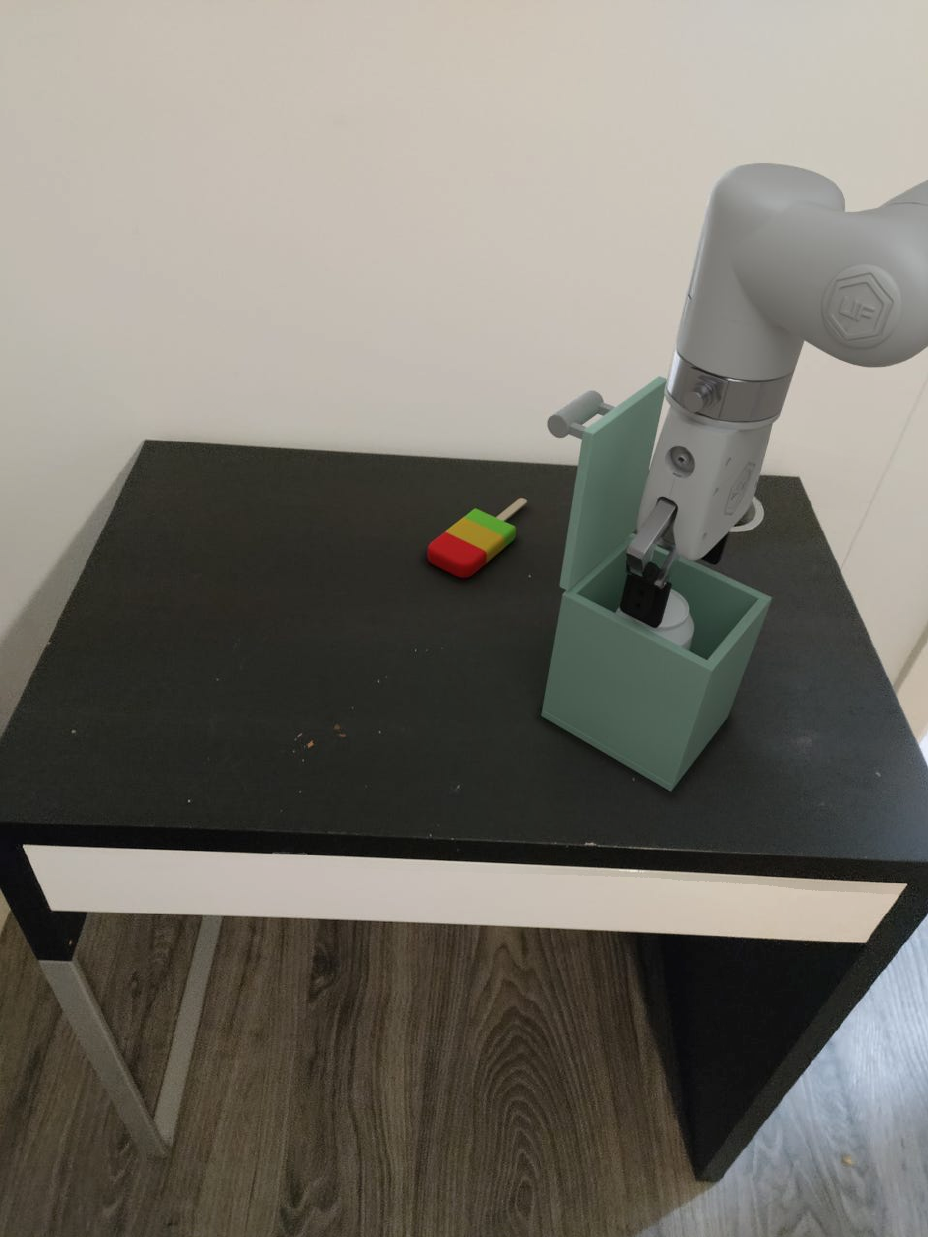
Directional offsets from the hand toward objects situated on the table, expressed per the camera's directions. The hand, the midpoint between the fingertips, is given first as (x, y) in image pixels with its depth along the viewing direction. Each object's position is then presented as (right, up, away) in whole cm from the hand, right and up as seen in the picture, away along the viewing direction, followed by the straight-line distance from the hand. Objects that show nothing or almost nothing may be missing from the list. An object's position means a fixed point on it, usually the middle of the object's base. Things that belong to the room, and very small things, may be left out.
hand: (671, 585), depth 71 cm
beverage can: (-1, -11, +9) cm, 14 cm away
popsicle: (-13, +6, +28) cm, 32 cm away
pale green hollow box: (-1, -11, +10) cm, 15 cm away
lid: (-4, +7, -2) cm, 9 cm away
